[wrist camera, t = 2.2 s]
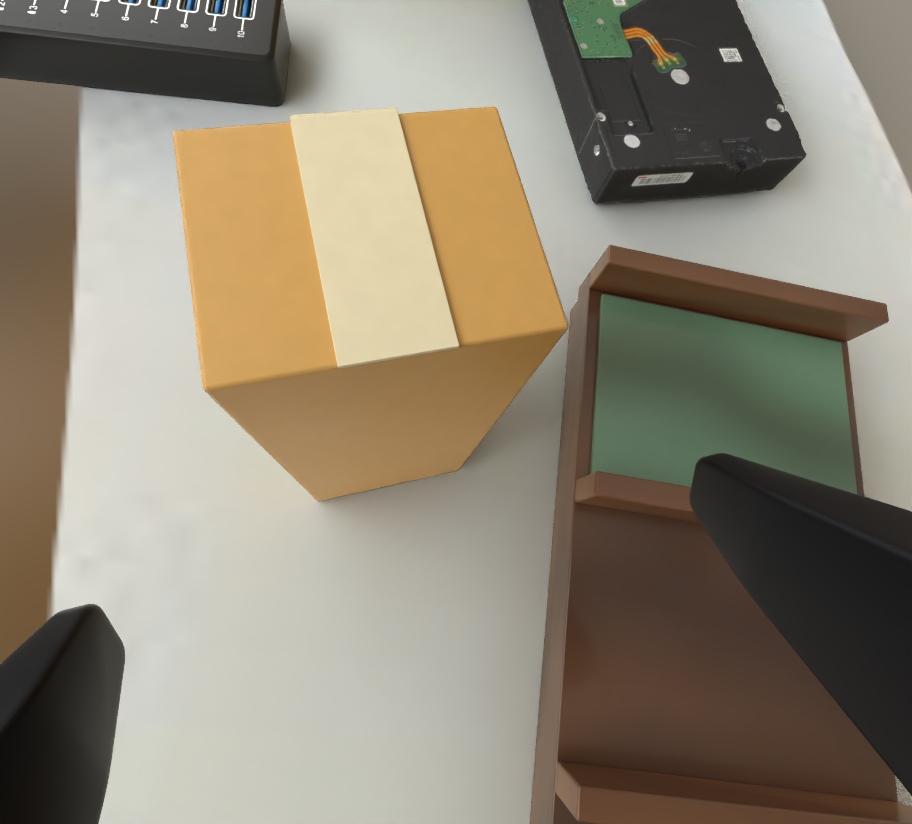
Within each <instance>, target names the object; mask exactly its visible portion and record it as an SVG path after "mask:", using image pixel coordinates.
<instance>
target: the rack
mask: <svg viewBox="0 0 912 824" xmlns="http://www.w3.org/2000/svg"><path fill="white" fill-rule="evenodd" d="M888 321H889V319H888V312H887V305H886V304H884V303H880V302H875V301H870V300H866V299H861V298H856V297H852V296H847V295H842V294H837V293H833V292H828V291H823V290H819V289H814V288H809V287H805V286H800V285H795V284H791V283H786V282H781V281H777V280H772V279H767V278H762V277H758V276H753V275H748V274H744V273H739V272H734V271H730V270H725V269H720V268H716V267H711V266H706V265H702V264H697V263H692V262H687V261H683V260H678V259H673V258H669V257H664V256H659V255H655V254H650V253H645V252H641V251H636V250H631V249H627V248H622V247H617V246H612V245H609V246H608V248H607V249H606V250H605V252H604V253H603V255H602V256H601V258H600V259H599V260H598V262H597V263H596V265H595V266H594V268H593V269H592V270H591V272H590V273H589V274H588V276H587V277H586V279H585V280H584V282H583V283H582V284H581V286H580V287H579V294H578V301H577V303H576V304H575V305H574V307H573V308H572V310H571V315H570V327H569V340H568V352H567V365H566V377H565V390H564V402H563V415H562V427H561V440H560V452H559V465H558V477H557V490H556V502H555V515H554V527H553V539H552V552H551V564H550V577H549V589H548V602H547V614H546V627H545V639H544V652H543V664H542V677H541V689H540V702H539V714H538V727H537V739H536V752H535V764H534V777H533V789H532V802H531V814H530V824H912V808H911V807H909V806H906V805H904V804H902V803H900V802H898V799H897V790H896V781H895V774H894V773H893V772H892V770H891V769H890V768H889V767H888V766H887V764H886V763H885V762H884V761H883V759H882V758H881V757H880V756H879V754H878V753H877V752H876V751H875V749H874V748H873V747H872V746H871V744H870V743H869V742H868V741H867V740H866V738H865V737H864V736H863V735H862V733H861V732H860V731H859V730H858V728H857V727H856V726H855V725H854V723H853V722H852V721H851V720H850V719H849V717H848V716H847V715H846V714H845V712H844V711H843V710H842V709H841V707H840V706H839V705H838V704H837V702H836V701H835V700H834V699H833V697H832V696H831V695H830V694H829V693H828V691H827V690H826V689H825V688H824V686H823V685H822V684H821V683H820V681H819V680H818V679H817V678H816V676H815V675H814V674H813V673H812V672H811V670H810V669H809V668H808V667H807V665H806V664H805V663H804V662H803V660H802V659H801V658H800V657H799V655H798V654H797V653H796V652H795V650H794V649H793V648H792V647H791V646H790V644H789V643H788V642H787V641H786V639H785V638H784V637H783V636H782V634H781V633H780V632H779V631H778V629H777V628H776V627H775V626H774V624H773V623H772V622H771V621H770V620H769V618H768V617H767V616H766V615H765V613H764V612H763V611H762V610H761V608H760V607H759V606H758V605H757V603H756V602H755V601H754V600H753V598H752V597H751V596H750V594H749V593H748V592H747V591H746V589H745V588H744V586H743V585H742V584H741V582H740V581H739V579H738V578H737V577H736V575H735V574H734V572H733V571H732V569H731V568H730V566H729V565H728V563H727V562H726V560H725V559H724V557H723V556H722V554H721V552H720V551H719V549H718V548H717V546H716V545H715V543H714V542H713V540H712V539H711V537H710V536H709V534H708V533H707V531H706V530H705V528H704V527H703V525H702V524H701V522H700V521H699V519H698V518H697V516H696V515H695V513H694V512H693V510H692V508H691V505H690V500H689V496H690V490H691V485H692V480H693V475H694V470H695V466H696V463H697V461H698V460H699V459H700V458H702V457H705V456H709V455H713V454H717V453H726V454H730V455H733V456H736V457H740V458H743V459H746V460H749V461H752V462H755V463H759V464H762V465H765V466H768V467H771V468H775V469H778V470H781V471H784V472H787V473H790V474H794V475H797V476H800V477H803V478H806V479H809V480H813V481H816V482H819V483H822V484H825V485H829V486H832V487H835V488H838V489H841V490H844V491H848V492H851V493H854V494H857V495H860V496H864V491H863V481H862V472H861V463H860V454H859V445H858V436H857V427H856V418H855V409H854V400H853V391H852V382H851V372H850V363H849V354H848V345H847V341H850V340H852V339H854V338H856V337H858V336H860V335H862V334H864V333H866V332H868V331H870V330H873V329H875V328H877V327H879V326H881V325H883V324H885V323H887V322H888Z"/></svg>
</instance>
